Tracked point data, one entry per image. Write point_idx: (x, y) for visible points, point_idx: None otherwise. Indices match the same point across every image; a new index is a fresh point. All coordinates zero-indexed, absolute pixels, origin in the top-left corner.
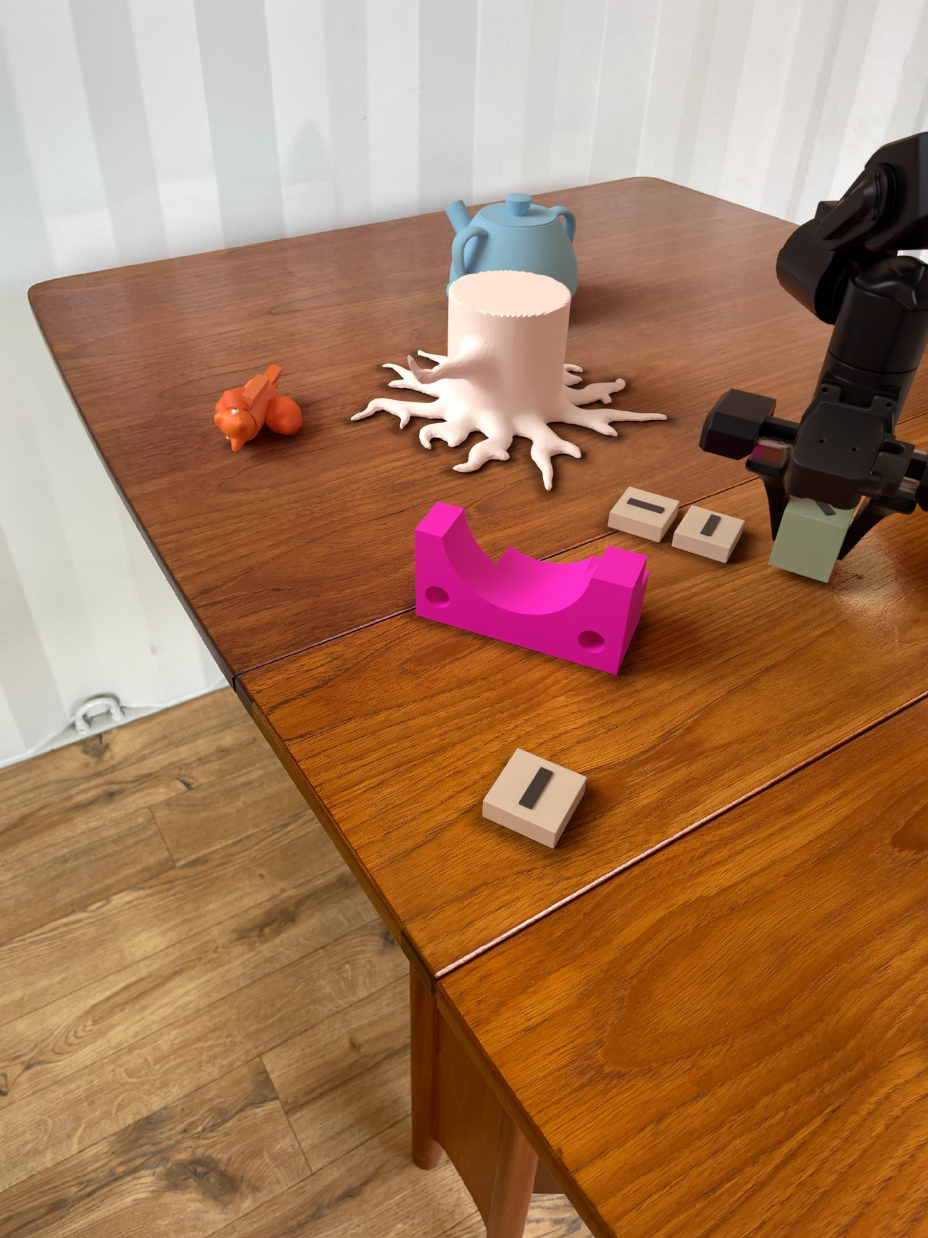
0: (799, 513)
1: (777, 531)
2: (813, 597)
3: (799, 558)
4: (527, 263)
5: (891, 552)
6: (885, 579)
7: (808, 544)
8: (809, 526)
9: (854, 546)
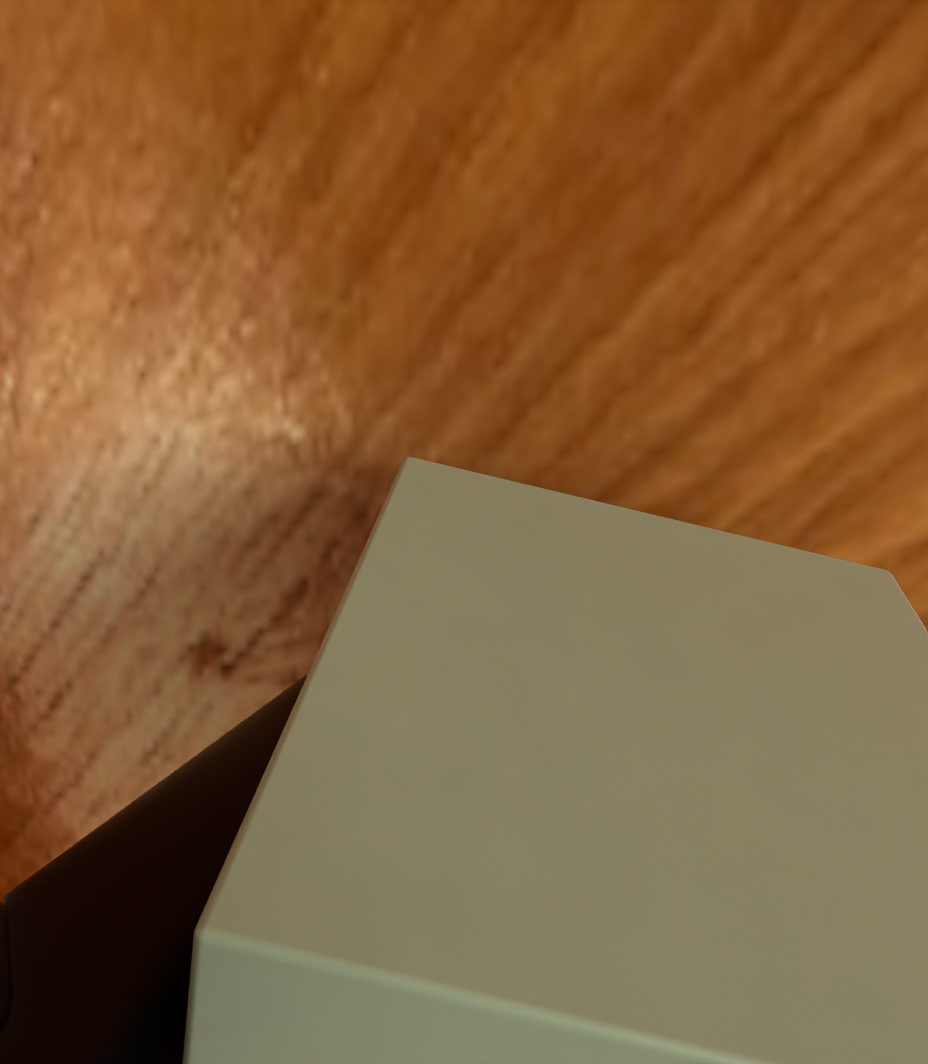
0: None
1: None
2: (493, 364)
3: (687, 599)
4: None
5: None
6: (63, 668)
7: (668, 708)
8: (771, 925)
9: (181, 767)
